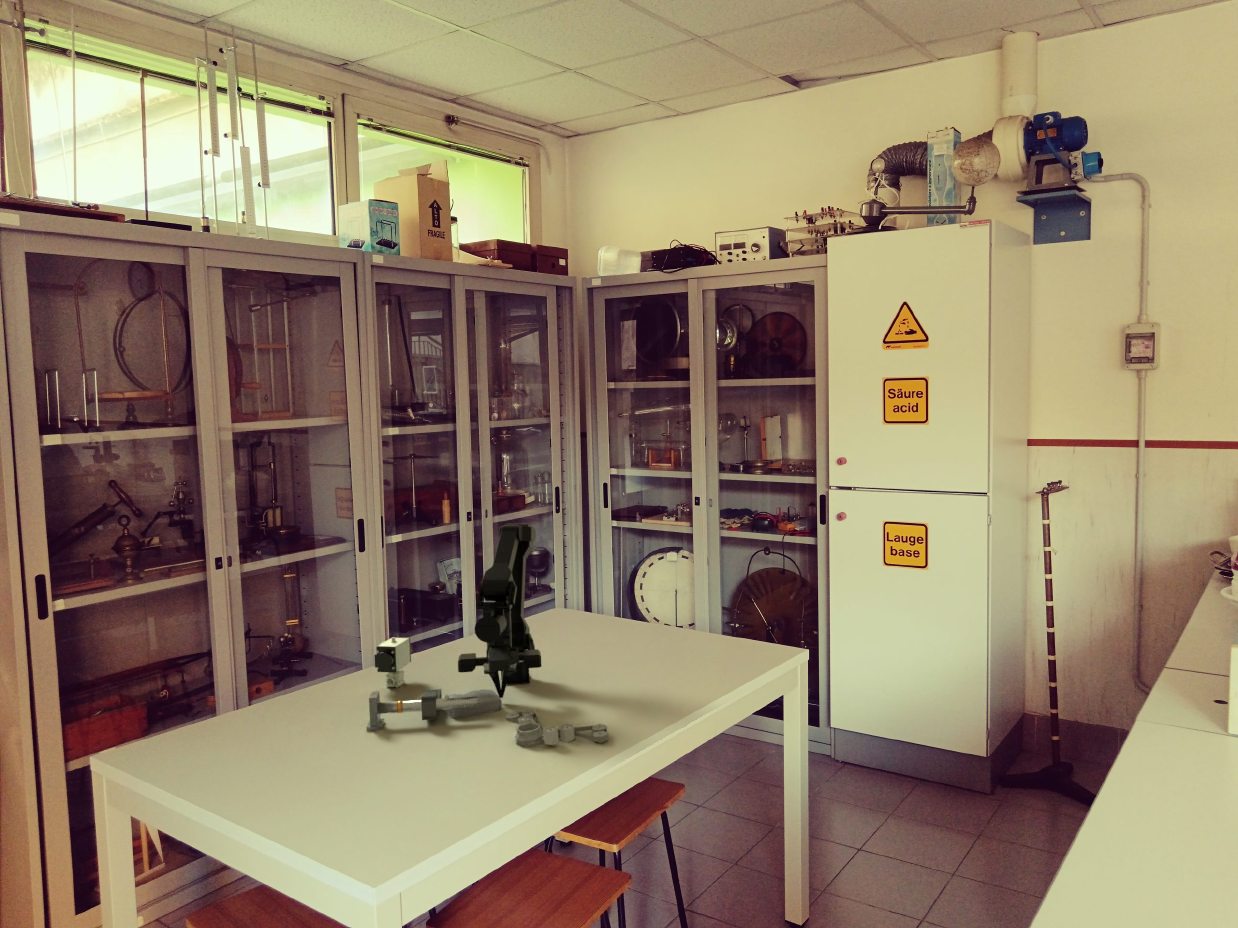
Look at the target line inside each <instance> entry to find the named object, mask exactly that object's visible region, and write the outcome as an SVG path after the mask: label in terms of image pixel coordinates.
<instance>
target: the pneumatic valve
mask: <svg viewBox="0 0 1238 928" xmlns="http://www.w3.org/2000/svg"><path fill="white" fill-rule="evenodd" d="M375 648H376V649H375V650H376V653H375V654H374V668H377V671H376V672H377V673H386V674H385V677H386V679H385V680H386V681H385V682H386V684H385V686H386V688H398V689H399V688H400V687H401V686H403V685H404V684H405V682H406V681H405V680H404V679H405V670H404V669H403V668H405V667H406V666H407V665H409V664H410V663H412V653H413V645H412V643H411V637H408V636H407V637H403V636H399V637H398V636H392V637H391V638H389V639H387V640H384V641H382V642H380V643H379V644H378V645H377V646H376V647H375Z"/></svg>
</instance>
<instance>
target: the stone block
mask: <svg viewBox="0 0 1238 928" xmlns="http://www.w3.org/2000/svg"><path fill="white" fill-rule="evenodd" d="M474 696H477V697H478V708H464V709H448V710H443V711H444V712H445V713H446V714H448V715H449V717H451V718H452V719H459V718H465V717H471V716H476V715H482V714H489V713H493V712H497V711H499V710H501V708H502V706H503V704H502V703H503V702H502V698H500V697H499V695H498V693H497V692H495V690H493V689H486V688H485V689H484V688H483V689H479V690H472V691H469V692H467V693H464V694H462V693H458V694H457V693H455V694H454V693H453V694H445V695H444V698H458V697H474Z"/></svg>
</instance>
